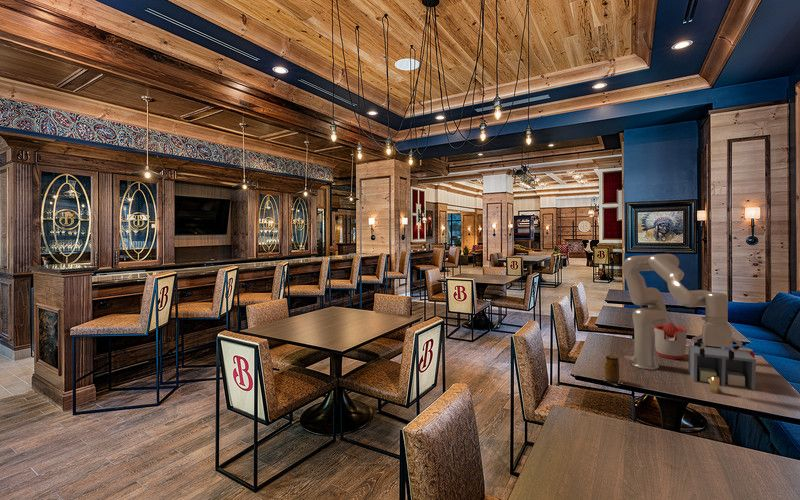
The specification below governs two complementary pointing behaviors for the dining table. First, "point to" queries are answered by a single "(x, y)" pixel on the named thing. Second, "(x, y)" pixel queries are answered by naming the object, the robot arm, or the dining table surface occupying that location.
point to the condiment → (612, 369)
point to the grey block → (735, 378)
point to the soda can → (748, 351)
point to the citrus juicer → (670, 341)
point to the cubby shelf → (722, 363)
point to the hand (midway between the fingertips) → (716, 358)
